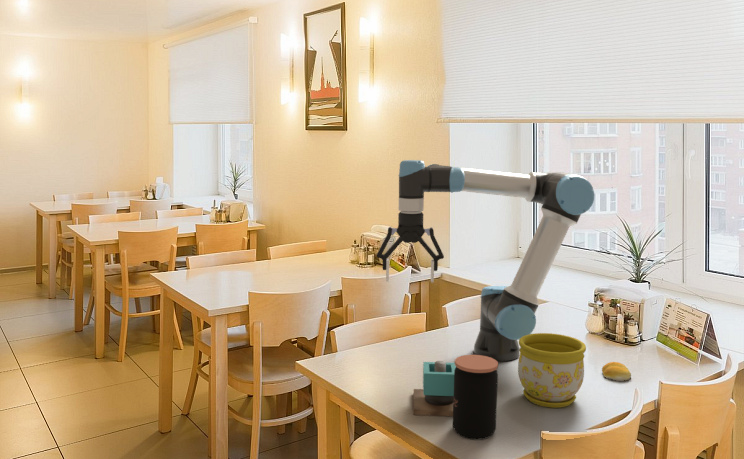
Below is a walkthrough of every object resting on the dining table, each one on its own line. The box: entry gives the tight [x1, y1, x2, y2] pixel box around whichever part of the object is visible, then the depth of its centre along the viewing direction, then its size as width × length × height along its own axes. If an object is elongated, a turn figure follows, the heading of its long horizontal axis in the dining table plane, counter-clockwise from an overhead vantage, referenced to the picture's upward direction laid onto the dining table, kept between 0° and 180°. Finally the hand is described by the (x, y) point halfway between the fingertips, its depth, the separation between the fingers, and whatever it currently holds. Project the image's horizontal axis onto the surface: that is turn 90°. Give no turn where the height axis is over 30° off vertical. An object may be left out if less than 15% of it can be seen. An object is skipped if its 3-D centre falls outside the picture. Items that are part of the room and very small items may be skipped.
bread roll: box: [601, 361, 632, 382], centre depth 203 cm, size 8×9×4 cm
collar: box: [422, 361, 456, 396], centre depth 179 cm, size 9×9×6 cm
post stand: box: [412, 360, 454, 417], centre depth 179 cm, size 14×14×12 cm
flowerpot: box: [517, 332, 587, 409], centre depth 184 cm, size 18×18×16 cm
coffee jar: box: [452, 354, 499, 440], centre depth 164 cm, size 11×11×18 cm
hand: (409, 281), depth 202 cm, fingers open, 13 cm apart
